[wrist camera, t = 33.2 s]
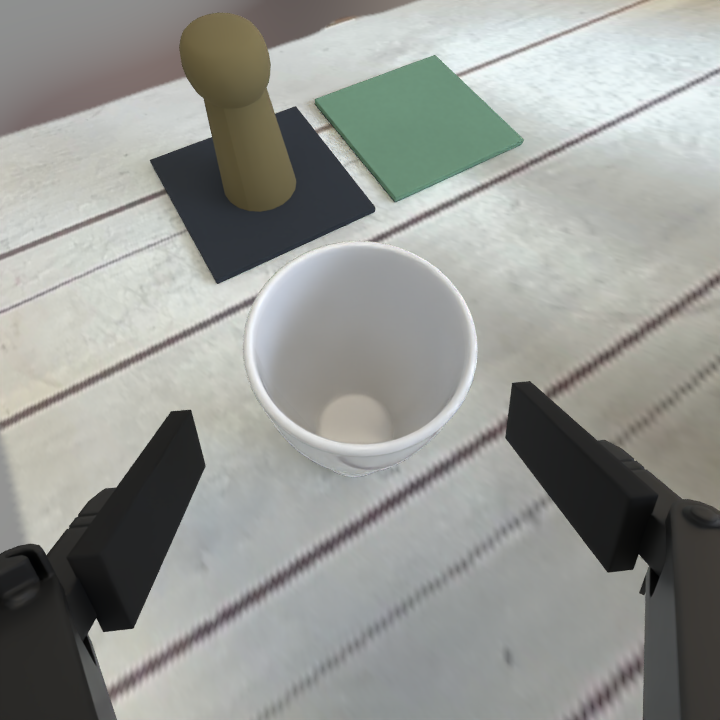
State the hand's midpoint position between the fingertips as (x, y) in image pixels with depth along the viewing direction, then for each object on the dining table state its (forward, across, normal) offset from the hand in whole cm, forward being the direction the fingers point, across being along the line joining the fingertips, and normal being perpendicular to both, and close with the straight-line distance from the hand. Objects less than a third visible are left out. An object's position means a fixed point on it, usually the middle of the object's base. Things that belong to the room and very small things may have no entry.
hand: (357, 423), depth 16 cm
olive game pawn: (+22, -6, +10) cm, 25 cm away
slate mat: (+22, -6, +10) cm, 25 cm away
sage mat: (+27, +8, +15) cm, 32 cm away
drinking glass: (+7, 0, -6) cm, 9 cm away
